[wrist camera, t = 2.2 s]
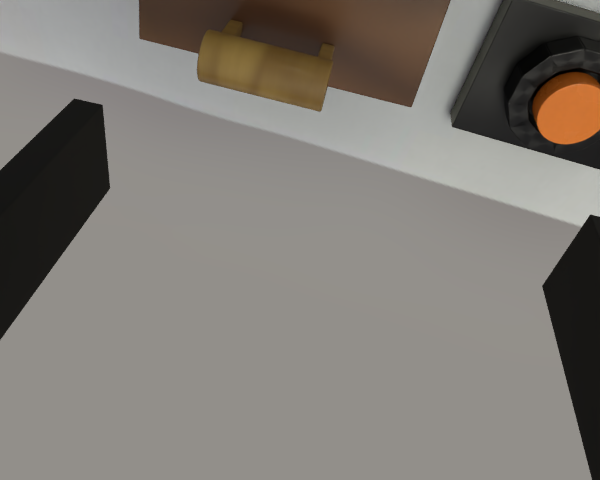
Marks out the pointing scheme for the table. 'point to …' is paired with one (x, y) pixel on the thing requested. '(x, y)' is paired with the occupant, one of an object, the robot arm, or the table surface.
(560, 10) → the box
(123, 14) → the table surface
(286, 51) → the dark wooden panel
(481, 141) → the table surface
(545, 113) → the button
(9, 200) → the robot arm
